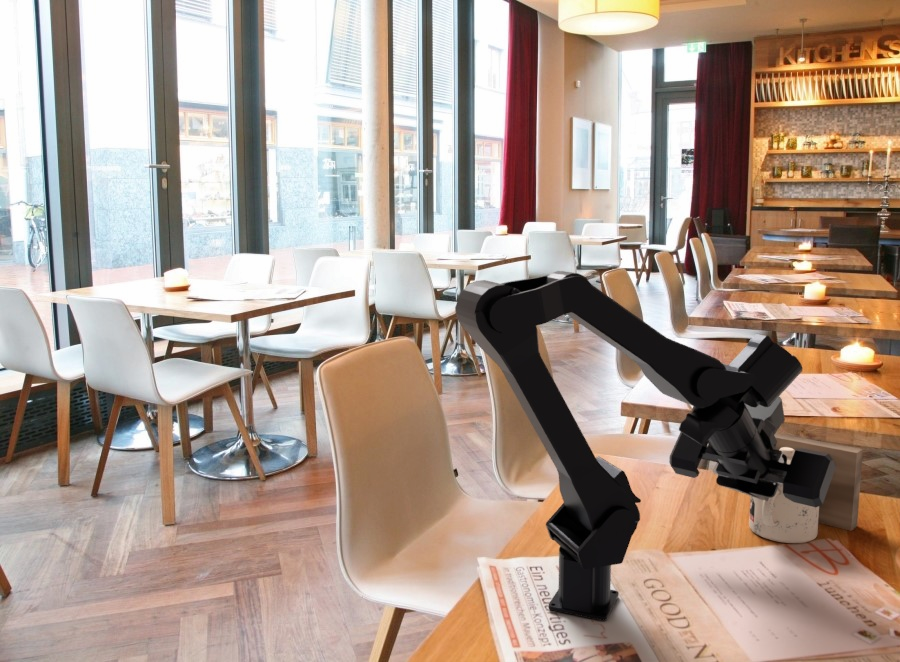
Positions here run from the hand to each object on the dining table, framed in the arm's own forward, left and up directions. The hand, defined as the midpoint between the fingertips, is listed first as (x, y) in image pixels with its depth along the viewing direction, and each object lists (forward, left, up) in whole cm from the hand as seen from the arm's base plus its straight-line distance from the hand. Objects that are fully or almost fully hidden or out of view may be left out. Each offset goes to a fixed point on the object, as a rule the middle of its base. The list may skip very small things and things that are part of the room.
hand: (766, 497), depth 102 cm
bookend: (+14, -5, -7) cm, 16 cm away
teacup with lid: (+5, -2, -7) cm, 9 cm away
